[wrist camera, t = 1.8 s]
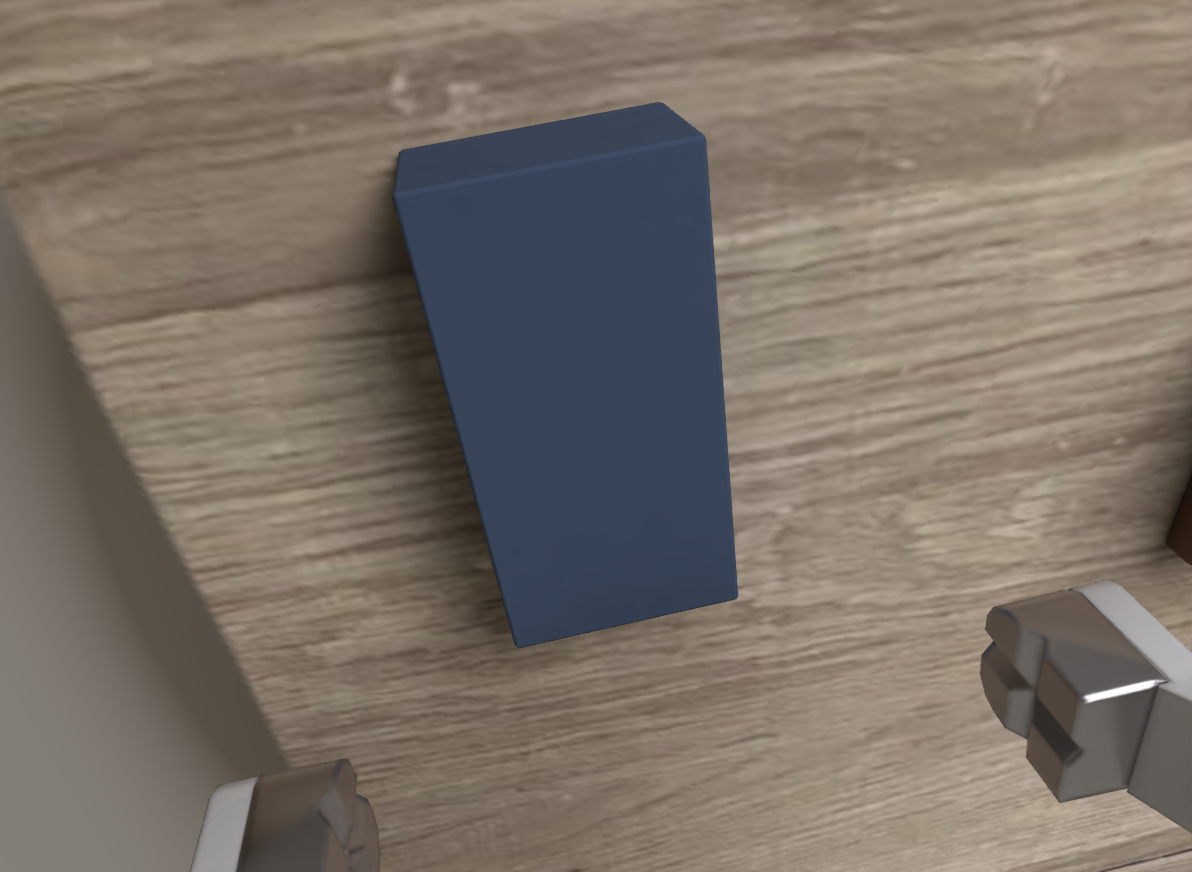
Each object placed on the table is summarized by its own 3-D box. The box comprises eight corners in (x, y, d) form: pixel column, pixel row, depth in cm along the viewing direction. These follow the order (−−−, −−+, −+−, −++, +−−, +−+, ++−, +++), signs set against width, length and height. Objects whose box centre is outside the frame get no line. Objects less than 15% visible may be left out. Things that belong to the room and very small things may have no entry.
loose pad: (398, 149, 16) (390, 194, 13) (662, 100, 16) (706, 134, 13) (506, 562, 21) (516, 650, 18) (702, 519, 21) (739, 600, 19)
